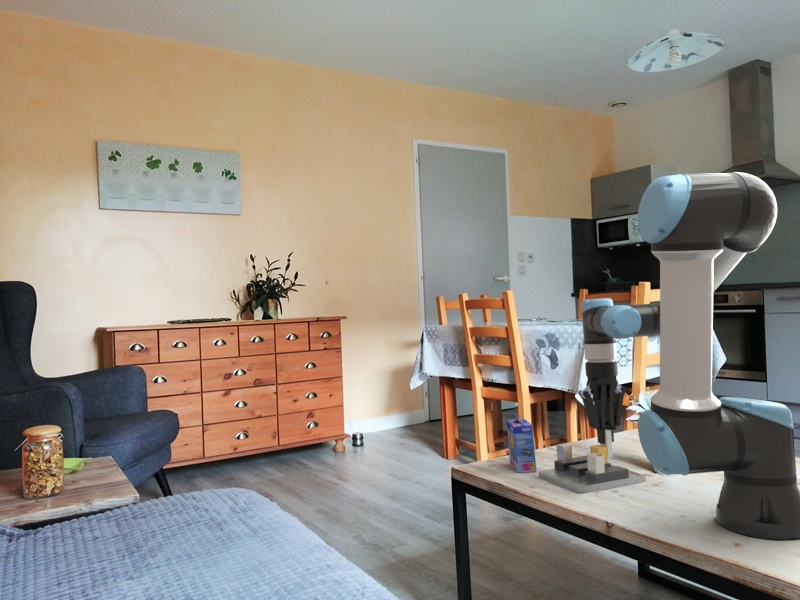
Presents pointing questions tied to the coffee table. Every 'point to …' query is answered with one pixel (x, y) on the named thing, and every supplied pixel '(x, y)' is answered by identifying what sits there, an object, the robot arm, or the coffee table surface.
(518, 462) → the ink cartridge box
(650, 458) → the robot arm
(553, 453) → the coffee table surface
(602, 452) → the block
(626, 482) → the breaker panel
